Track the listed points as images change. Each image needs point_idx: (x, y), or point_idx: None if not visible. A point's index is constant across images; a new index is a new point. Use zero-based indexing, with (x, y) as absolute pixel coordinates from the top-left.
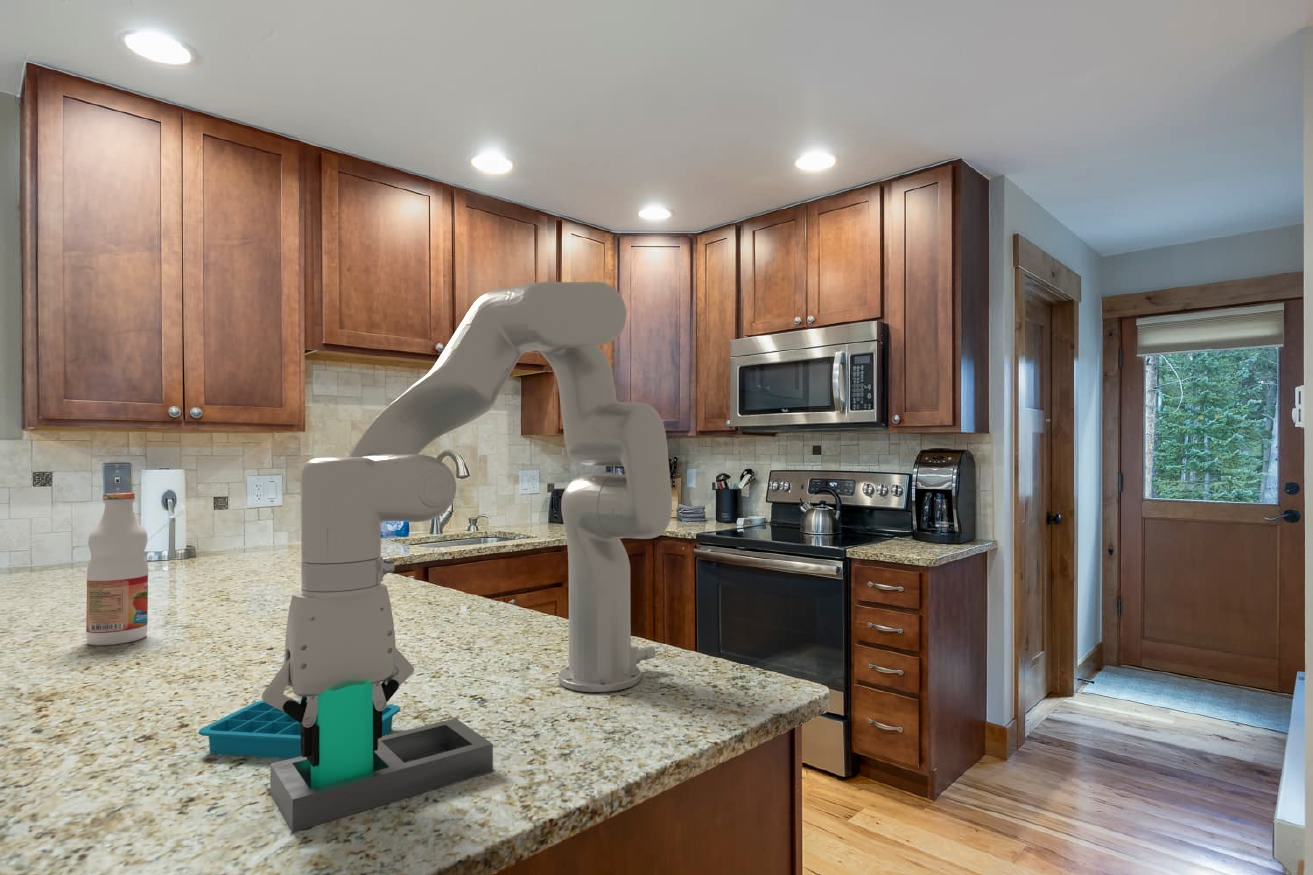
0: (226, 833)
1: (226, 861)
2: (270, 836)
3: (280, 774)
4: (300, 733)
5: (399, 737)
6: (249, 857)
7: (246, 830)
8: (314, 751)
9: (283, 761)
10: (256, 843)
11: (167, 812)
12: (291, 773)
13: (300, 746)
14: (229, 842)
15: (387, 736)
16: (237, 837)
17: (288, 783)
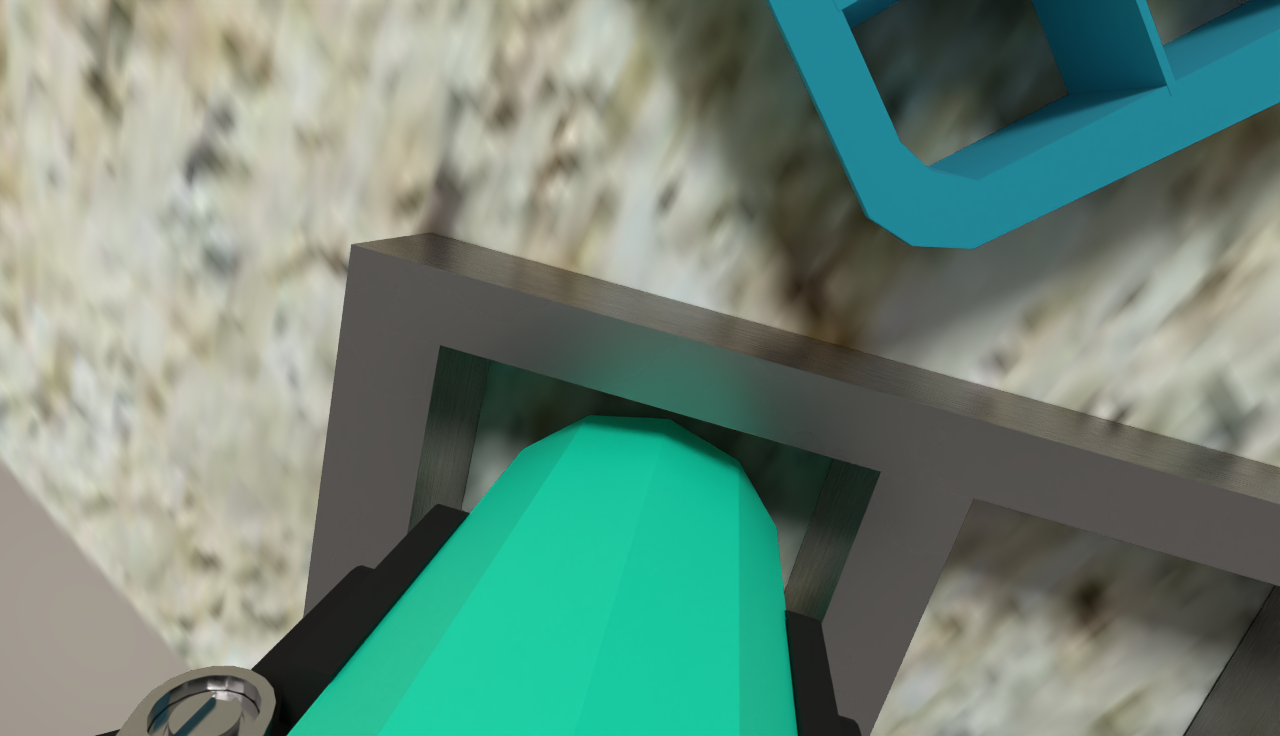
0: (199, 439)
1: (161, 616)
2: (305, 589)
3: (339, 440)
4: (286, 636)
5: (1099, 530)
6: (218, 652)
7: (257, 479)
8: None
9: (416, 277)
10: (257, 593)
11: (51, 27)
12: (383, 478)
13: (345, 577)
14: (193, 511)
15: (1054, 473)
16: (221, 501)
17: (330, 572)
